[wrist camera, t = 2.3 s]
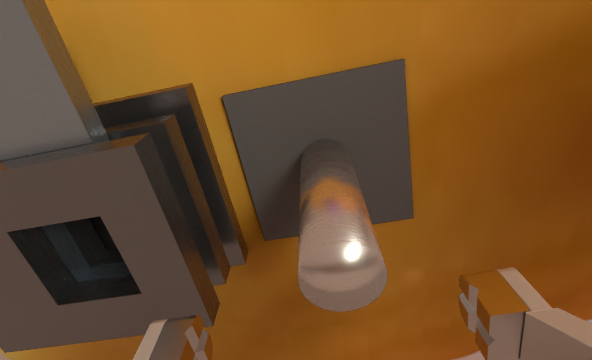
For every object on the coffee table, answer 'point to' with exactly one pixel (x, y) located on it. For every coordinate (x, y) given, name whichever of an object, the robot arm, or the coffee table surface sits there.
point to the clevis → (101, 200)
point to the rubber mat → (325, 125)
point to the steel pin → (336, 233)
